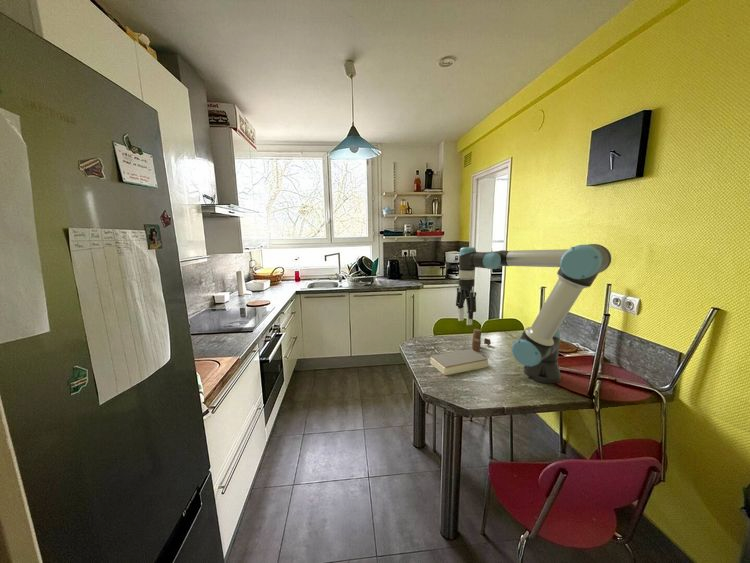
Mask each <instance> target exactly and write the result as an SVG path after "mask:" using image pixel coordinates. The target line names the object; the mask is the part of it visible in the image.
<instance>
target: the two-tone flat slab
mask: <svg viewBox="0 0 750 563" xmlns="http://www.w3.org/2000/svg"><path fill="white" fill-rule="evenodd" d="M429 360H430V361H429V362H430V364H431V365H432V366H433V367H435V368H436V369H437V370H438V371H439V372H440V373H441V374H443V375H444V376H448V375H454V374H459V373H464V372H468V371H474V370H479V369H484V368H488V367H489V360H488V358H487V357H486V356H484V355H482V354H480V353H479V352H475V351H474V350H473V349H472V348H470V349H464V350H458V351H453V352H447V353H440V354H435V355H431V356H430V358H429Z"/></svg>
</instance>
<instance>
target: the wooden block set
mask: <svg viewBox="0 0 750 563" xmlns="http://www.w3.org/2000/svg"><path fill="white" fill-rule="evenodd" d="M482 332H483V330H481V329H479V328H473V333H472V334H473V335H472V341H471V347H472V348H471V349H472V350H474V351H475V352H477V353H479V352H480V350H481V345H482V344H481V342H482V341H481V339H482ZM483 343H484V345H488V346H490V345H491V344H492V343H491V338H486V337H485V338H484V340H483Z"/></svg>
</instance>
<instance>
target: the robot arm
mask: <svg viewBox="0 0 750 563" xmlns="http://www.w3.org/2000/svg"><path fill="white" fill-rule="evenodd" d="M458 257H459V258H458V259H459V269H458V278H459V279H458V286H459V287H457V288H456V299H455V307H457V311H458V312H457V313H458V319H457V320H458V322H462V321H464V320H465V319H464V318H465V306H464V305H465V301H466V307H467V311H466V326H472V325H473V317H474V313H476V312H477V297H476V296H477V292H476V291H474V290H473V287H475V272H476V268H480V269H487V270H493V269H494V270H496V269H498V268H499V267H527V268H529V267H534V268H538V267H539V268H559V269H558V271H557V272H556V274H557V276H558V279H557V281H556V283H555V285H554V286H553V288H552V289H551V291H550V293H549V294H548V297H547V299H546V300H545V302H544V304H543V305H542V307H541V309H540V310H539V312H538V314H537V316H536V318H535V319H534V321H533V323H532V325H531V326H528V327H526V328H524V330H523V332H522V334H521V336H520V337H519V339H516V340H515V341H514V342H513V344H512V346H511V352H512V356H513V357H514V359H515V360H516V361H517V362H518V363H519V364H521V365H522V366H523V373H524V374H525V375H526V376H527V377H528V379H530V380H533V381H535V382H539V383H543V384H557V383H559V382H561V380H562V374H561V370H560V367H559V363H558V361H559V350H560V340H561V333H560V331H559V330H558V329H559V328H560V326H561V325H562V323H563V322H564V320H565V318H566V317H567V315H568V314H569V312H570V311H571V309H572V307H573V306H574V304H575V303H576V301H577V299H578V297H580V295H581V293H582V292H583V290H584V289H588V288H590V287H592V285H593V283H594V281H595V280H596V278H597V277H598V275H599V274H600V273H603V272H605V271H606V270H607V269H608V268H609V267H610V265H611V263H612V253H611V251H610V250H609V249H608V248H607V247H606V246H604V245H601V244H599V243H598V244H597V243H590V244H579V245H575V246H572V247H570V248H567V249H566V248H565V249H527V250H526V249H525V250H524V249H521V250H520V249H519V250H516V249H515V250H505V249H504V250H503V249H502V250H495V251H477V249H476V248H475V247H471V246H469V247H468V246H467V247H465V246H463V247H461V248H460V249H459V256H458Z"/></svg>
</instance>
